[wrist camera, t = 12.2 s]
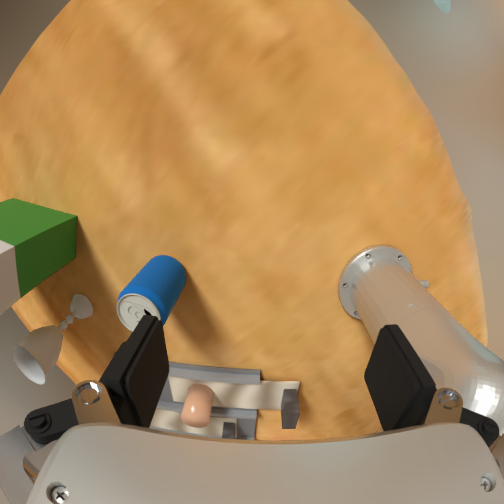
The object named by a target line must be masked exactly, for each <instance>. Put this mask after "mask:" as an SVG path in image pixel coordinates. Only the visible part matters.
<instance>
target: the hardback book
mask: <svg viewBox="0 0 504 504" xmlns="http://www.w3.org/2000/svg"><path fill="white" fill-rule="evenodd" d="M76 227H77V216H75V215H72V214H68V213H64V212H61V211H57V210H53V209H50V208H46V207H43V206H39V205H35V204H32V203H28V202H25V201H21V200H17V199H14V198H12V199H9V200H6V201H3V202H0V315H1V314H2V313H3V312H4V311H6V310H7V309H8V308H9V307H10V306H12V305H13V304H14V303H15V302H17V301H18V300H19V299H20V298H22V297H23V296H24V295H25V294H27V293H28V292H29V291H31V290H32V289H33V288H34V287H36V286H37V285H38V284H40V283H41V282H42V281H44V280H45V279H46V278H48V277H49V276H51V275H52V274H53V273H55V272H56V271H57V270H59V269H60V268H62V267H63V266H65V265H66V264H67V263H69V262H70V261H72V260H73V259H75V258H76Z"/></svg>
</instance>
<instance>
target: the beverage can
mask: <svg viewBox="0 0 504 504" xmlns="http://www.w3.org/2000/svg"><path fill="white" fill-rule="evenodd" d="M185 284H186V272H185V270H184V268H183V266H182V265H181V264H180V262H178V261H177V260H176V259H174V258H173V257H170V256H166V255H160V256H156V257H154V258H152V259H151V260H150V261H149V262H148V263H147V264H146V265H145V266H144V267H143V269H142V270H141V271H140V272H139V273H138V274H137V275H136V276H135V277H134V278H133V279H132V281H131V282H130V283H129V284H128V285H127V286H126V287H125V288H124V289H123V291H122V292H121V293H120V295H119V298H118V303H117V314H118V317H119V319H120V321H121V322H122V324H123V325H124V326H125V327H126V328H127V329H129V330H130V331H132V332H133V331H134V329H135V328H136V326H137V324H138V323H139V321H140V320H141V318H142V317H143V315H151V316H157V317H158V320H161V321H162V324H163V326H164V324H165V322H166V320H167V318H168V317H169V315H170V313H171V311H172V309H173V307H174V305H175V303H176V301H177V299H178V297H179V296H180V294H181V292H182V290H183V288H184V286H185Z"/></svg>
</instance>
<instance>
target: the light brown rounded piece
mask: <svg viewBox="0 0 504 504" xmlns="http://www.w3.org/2000/svg"><path fill="white" fill-rule="evenodd" d="M213 398H214V392H213V390H212V389H211V388H210V387H208V386H206V385H203V384H193V385H191V386H190V387H189V388H188V392H187V395H186V399H185V403H184V406H183V410H182V414H181V420H182V421H183V422H184V423H185V424H187V425H189V426H191V427H195V428H203V427H206V426H208V425H209V421H210V415H211V410H212V404H213Z"/></svg>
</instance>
